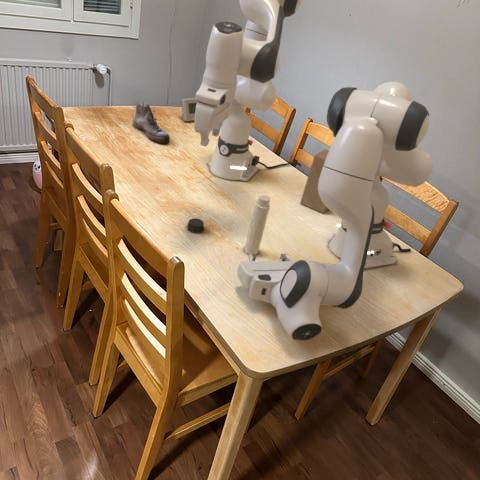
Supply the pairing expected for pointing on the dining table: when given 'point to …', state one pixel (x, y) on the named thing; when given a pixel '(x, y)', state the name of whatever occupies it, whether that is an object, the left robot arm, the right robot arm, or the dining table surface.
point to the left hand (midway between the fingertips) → (209, 140)
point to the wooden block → (314, 184)
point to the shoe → (149, 124)
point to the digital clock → (188, 109)
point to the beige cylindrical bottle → (257, 225)
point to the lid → (195, 225)
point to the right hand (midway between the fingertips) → (267, 255)
